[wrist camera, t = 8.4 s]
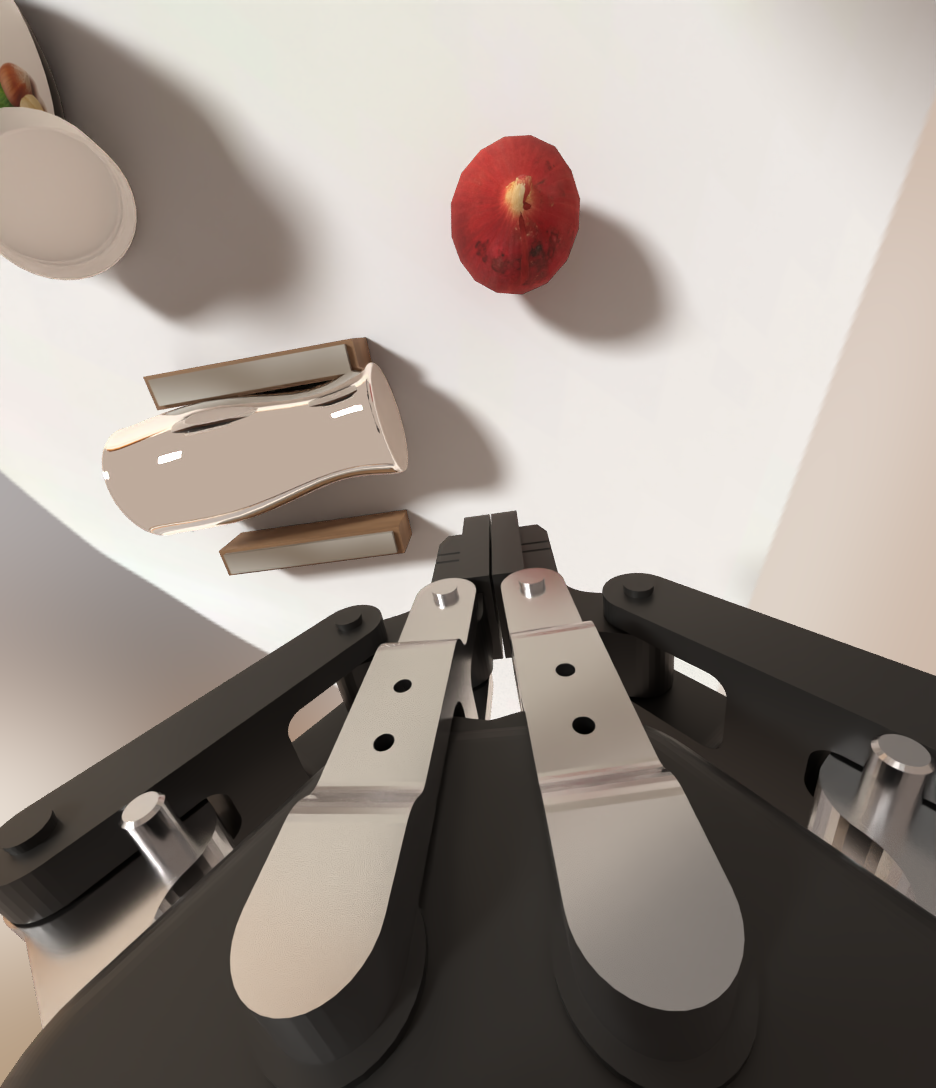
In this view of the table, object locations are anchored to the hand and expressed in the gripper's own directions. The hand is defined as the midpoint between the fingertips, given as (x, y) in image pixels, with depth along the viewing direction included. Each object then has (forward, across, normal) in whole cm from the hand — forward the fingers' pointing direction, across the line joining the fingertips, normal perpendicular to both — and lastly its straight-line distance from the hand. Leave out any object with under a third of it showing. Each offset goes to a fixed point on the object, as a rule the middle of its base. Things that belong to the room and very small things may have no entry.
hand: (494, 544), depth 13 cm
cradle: (+17, +12, 0) cm, 21 cm away
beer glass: (+14, +5, -2) cm, 15 cm away
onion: (+17, -2, -10) cm, 20 cm away
